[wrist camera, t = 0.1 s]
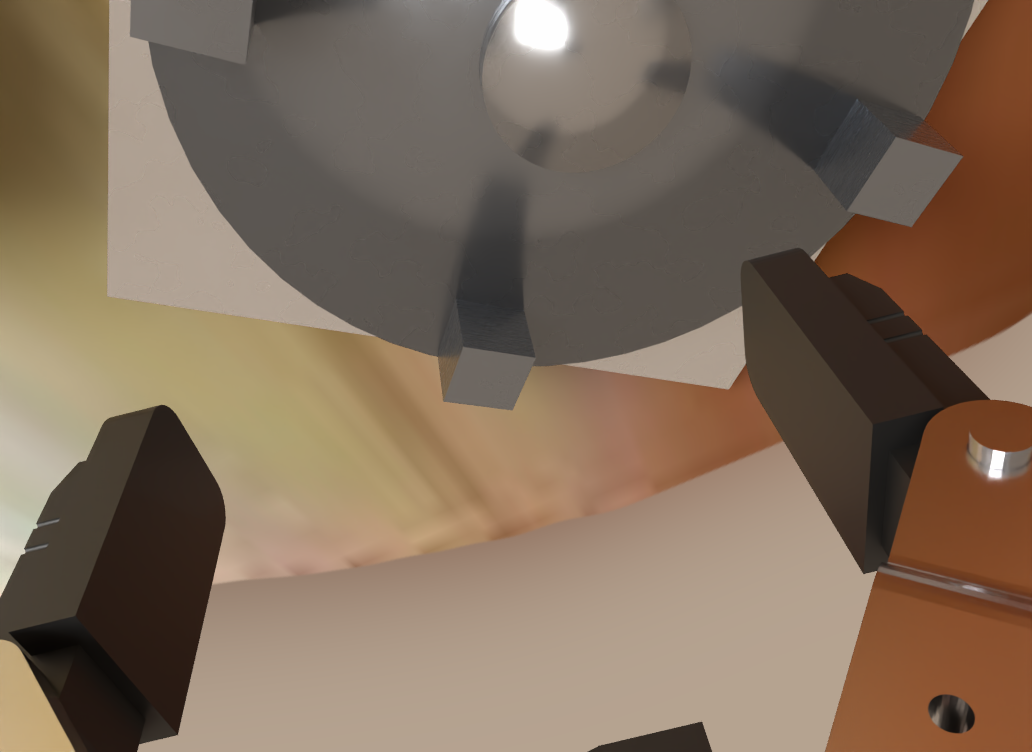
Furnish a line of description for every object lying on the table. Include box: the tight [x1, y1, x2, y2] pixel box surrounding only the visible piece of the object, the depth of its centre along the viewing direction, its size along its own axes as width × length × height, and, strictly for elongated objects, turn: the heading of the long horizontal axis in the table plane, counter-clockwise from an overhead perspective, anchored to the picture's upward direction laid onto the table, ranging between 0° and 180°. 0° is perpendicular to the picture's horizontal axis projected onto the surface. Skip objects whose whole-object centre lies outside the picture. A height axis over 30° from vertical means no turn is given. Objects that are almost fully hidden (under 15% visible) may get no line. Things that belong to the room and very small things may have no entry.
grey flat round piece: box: [130, 0, 974, 410], centre depth 27 cm, size 28×28×5 cm
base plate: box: [107, 0, 988, 389], centre depth 29 cm, size 30×30×6 cm
